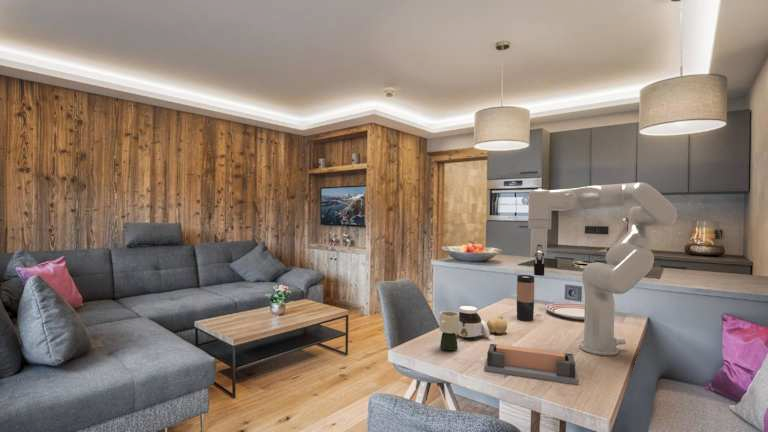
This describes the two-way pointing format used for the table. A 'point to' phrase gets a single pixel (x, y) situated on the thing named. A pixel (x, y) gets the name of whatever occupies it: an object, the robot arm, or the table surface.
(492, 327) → the onion
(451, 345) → the character mug
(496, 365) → the end caps
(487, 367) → the board
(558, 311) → the dinner plate
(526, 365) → the slat
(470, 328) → the spread jar
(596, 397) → the table surface
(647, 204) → the robot arm
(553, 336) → the table surface
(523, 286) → the travel mug
